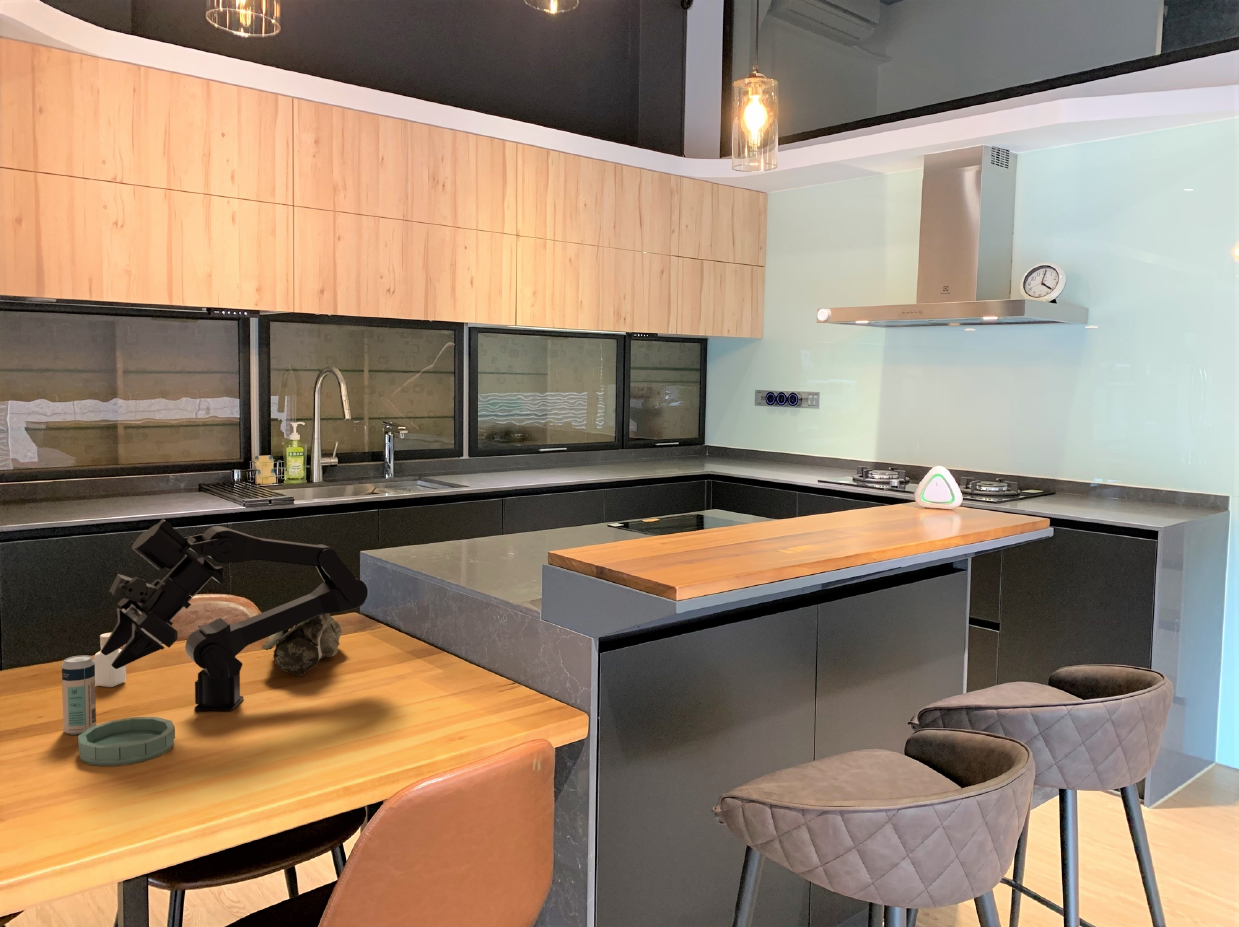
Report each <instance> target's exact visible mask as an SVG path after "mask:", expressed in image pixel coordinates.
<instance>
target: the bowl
mask: <svg viewBox="0 0 1239 927" xmlns="http://www.w3.org/2000/svg"><path fill="white" fill-rule="evenodd" d="M175 739H176V727H175V724H174V722H173V721H172V720H170V719H165V718H162V717H159V716H133V717H126V718H120V719H115V720H113V719H112V720H108V721H106V722H102V723H99V724H96V726H93V727H90V728H88V729H87V730H86V731H84V732H83V733H82V734H78V736H77V741H78V743H77V744H78V745H77V746H78V751H79V752H78V754H79V760H80V761H81V762H83V763H85V764H88V765H91V766H98V767H117V766H127V765H133V764H138V763H141V762H147V761H149V760H152V759H155V758H157V757H160V756H162V755H164V754H166V753H167V752H169V751H171V750H172V749H173V747H174V745H175Z"/></svg>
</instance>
